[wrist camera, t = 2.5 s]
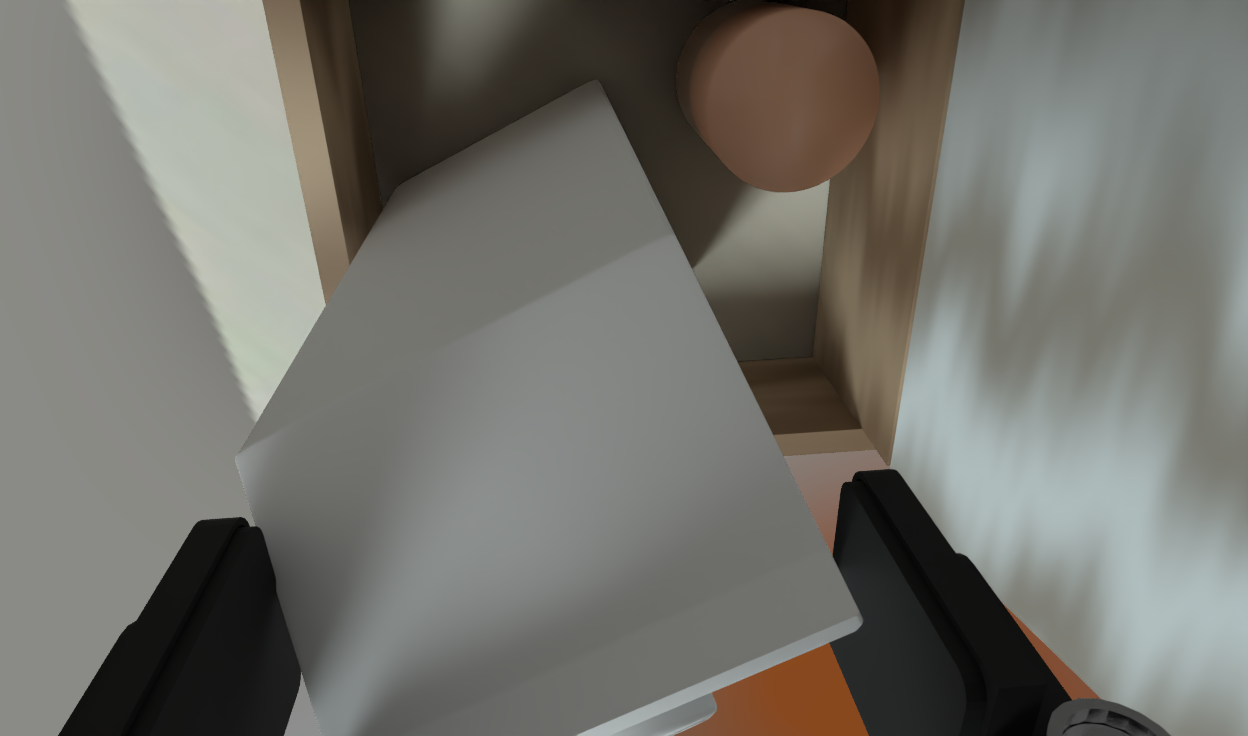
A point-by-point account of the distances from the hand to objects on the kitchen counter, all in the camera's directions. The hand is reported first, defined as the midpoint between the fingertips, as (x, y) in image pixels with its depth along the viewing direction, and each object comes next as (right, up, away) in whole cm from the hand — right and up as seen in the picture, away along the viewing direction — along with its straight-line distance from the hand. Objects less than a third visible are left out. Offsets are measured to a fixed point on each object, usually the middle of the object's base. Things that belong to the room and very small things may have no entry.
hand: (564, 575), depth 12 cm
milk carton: (-2, +8, +14) cm, 16 cm away
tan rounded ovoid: (+5, +12, +13) cm, 18 cm away
